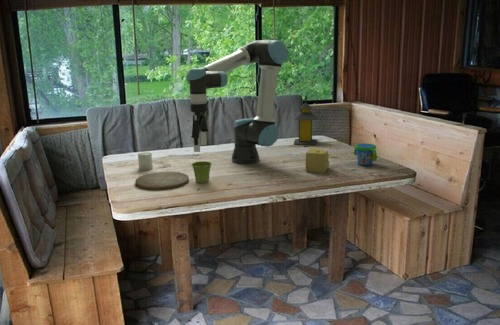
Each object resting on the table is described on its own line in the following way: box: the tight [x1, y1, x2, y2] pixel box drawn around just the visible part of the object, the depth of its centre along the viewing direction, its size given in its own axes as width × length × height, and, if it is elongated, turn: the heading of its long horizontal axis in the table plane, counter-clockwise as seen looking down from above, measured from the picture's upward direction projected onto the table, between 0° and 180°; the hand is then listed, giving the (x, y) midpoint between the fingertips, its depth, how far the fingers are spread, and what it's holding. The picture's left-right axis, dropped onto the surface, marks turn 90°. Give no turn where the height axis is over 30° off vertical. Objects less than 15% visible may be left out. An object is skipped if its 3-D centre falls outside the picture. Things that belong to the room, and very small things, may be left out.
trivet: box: [135, 171, 190, 191], centre depth 225 cm, size 25×25×2 cm
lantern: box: [293, 95, 318, 146], centre depth 296 cm, size 14×14×30 cm
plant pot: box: [191, 160, 212, 184], centre depth 223 cm, size 9×9×9 cm
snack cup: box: [353, 143, 378, 166], centre depth 247 cm, size 16×10×10 cm
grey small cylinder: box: [137, 151, 154, 172], centre depth 247 cm, size 7×7×8 cm
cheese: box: [305, 147, 330, 174], centre depth 239 cm, size 10×11×10 cm
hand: (200, 148), depth 220 cm, fingers open, 13 cm apart
